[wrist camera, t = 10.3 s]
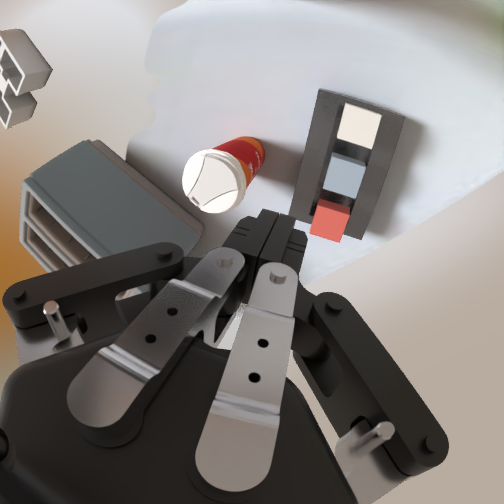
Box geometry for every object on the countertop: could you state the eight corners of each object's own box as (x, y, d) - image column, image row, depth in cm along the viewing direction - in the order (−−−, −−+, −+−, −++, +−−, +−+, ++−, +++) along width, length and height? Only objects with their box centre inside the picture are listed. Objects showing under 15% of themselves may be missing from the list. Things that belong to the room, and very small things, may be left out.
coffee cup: (247, 187, 50) (213, 229, 37) (213, 152, 48) (166, 184, 36) (283, 155, 45) (258, 188, 33) (246, 118, 43) (205, 136, 31)
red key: (320, 191, 43) (317, 205, 39) (349, 200, 42) (349, 215, 38) (313, 217, 46) (309, 233, 42) (340, 225, 45) (339, 242, 41)
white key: (345, 101, 35) (345, 103, 31) (376, 111, 34) (381, 115, 30) (337, 131, 38) (336, 138, 33) (368, 141, 37) (371, 149, 33)
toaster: (183, 289, 68) (137, 354, 51) (76, 197, 63) (15, 240, 46) (226, 238, 57) (176, 312, 40) (97, 133, 52) (19, 168, 35)
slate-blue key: (333, 147, 39) (331, 156, 35) (363, 157, 38) (366, 167, 34) (325, 176, 42) (322, 188, 37) (354, 185, 41) (355, 198, 37)
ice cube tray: (32, 120, 54) (6, 130, 47) (-3, 65, 47) (-25, 71, 40) (55, 68, 45) (25, 75, 38) (17, 18, 38) (-8, 21, 31)
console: (320, 88, 37) (318, 88, 34) (399, 113, 36) (404, 116, 33) (292, 206, 49) (287, 217, 46) (360, 228, 47) (361, 240, 44)
